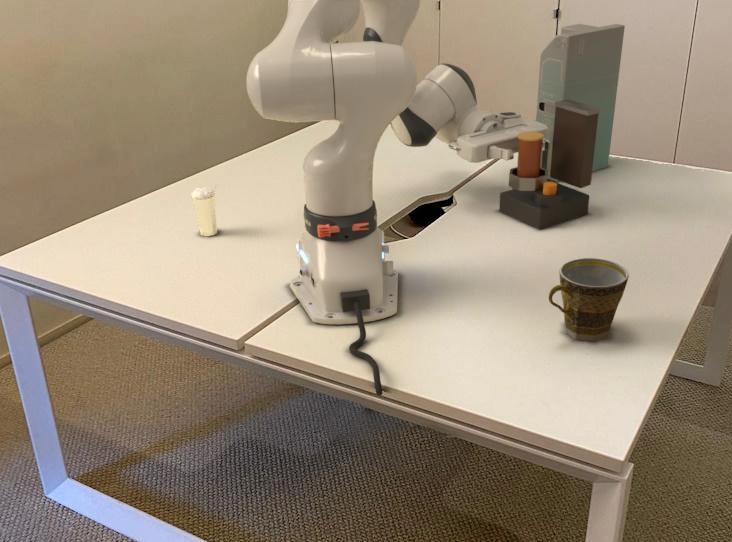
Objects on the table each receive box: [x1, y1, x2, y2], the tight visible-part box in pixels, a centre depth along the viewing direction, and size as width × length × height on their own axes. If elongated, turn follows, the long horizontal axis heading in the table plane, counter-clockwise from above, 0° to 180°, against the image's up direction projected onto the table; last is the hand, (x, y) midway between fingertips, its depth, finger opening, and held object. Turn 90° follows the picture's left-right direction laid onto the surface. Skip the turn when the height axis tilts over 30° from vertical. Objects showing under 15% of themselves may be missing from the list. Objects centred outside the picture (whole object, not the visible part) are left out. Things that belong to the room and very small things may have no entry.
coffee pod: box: [516, 131, 544, 178], centre depth 164 cm, size 5×5×10 cm
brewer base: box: [498, 178, 590, 230], centre depth 168 cm, size 13×13×6 cm
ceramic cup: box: [548, 257, 630, 343], centre depth 126 cm, size 13×10×10 cm
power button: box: [543, 181, 558, 195], centre depth 163 cm, size 3×3×2 cm
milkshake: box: [190, 184, 218, 237], centre depth 164 cm, size 4×5×10 cm
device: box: [535, 23, 626, 183], centre depth 183 cm, size 16×8×30 cm, turn 124°
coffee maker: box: [508, 99, 600, 191], centre depth 163 cm, size 12×13×15 cm
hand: (529, 150), depth 163 cm, fingers open, 8 cm apart
